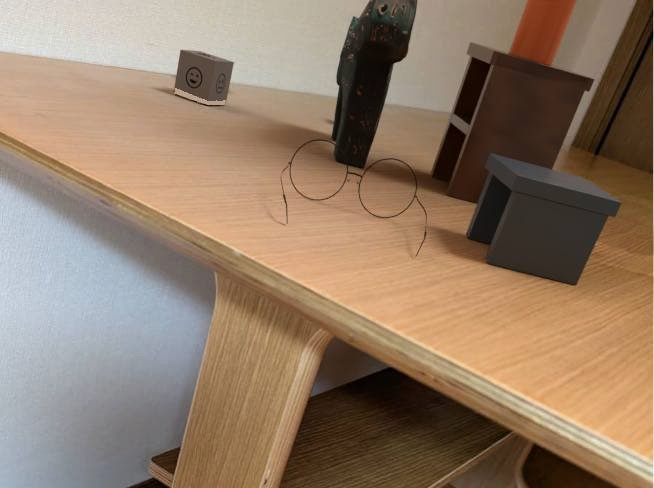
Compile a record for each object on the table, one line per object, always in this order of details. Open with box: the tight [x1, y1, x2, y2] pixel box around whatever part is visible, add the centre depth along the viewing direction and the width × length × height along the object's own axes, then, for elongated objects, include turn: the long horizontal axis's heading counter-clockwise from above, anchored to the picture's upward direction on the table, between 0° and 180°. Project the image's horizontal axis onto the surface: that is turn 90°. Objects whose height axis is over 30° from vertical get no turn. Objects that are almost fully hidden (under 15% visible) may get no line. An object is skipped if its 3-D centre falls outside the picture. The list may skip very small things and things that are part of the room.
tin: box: [507, 0, 578, 66], centre depth 85 cm, size 5×5×6 cm
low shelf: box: [465, 153, 623, 286], centre depth 70 cm, size 9×9×7 cm
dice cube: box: [173, 49, 235, 102], centre depth 103 cm, size 5×5×5 cm
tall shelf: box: [429, 41, 595, 204], centre depth 91 cm, size 11×11×14 cm
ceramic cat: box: [330, 0, 418, 169], centre depth 92 cm, size 20×6×20 cm, turn 176°
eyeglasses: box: [280, 138, 428, 258], centre depth 67 cm, size 11×13×5 cm
